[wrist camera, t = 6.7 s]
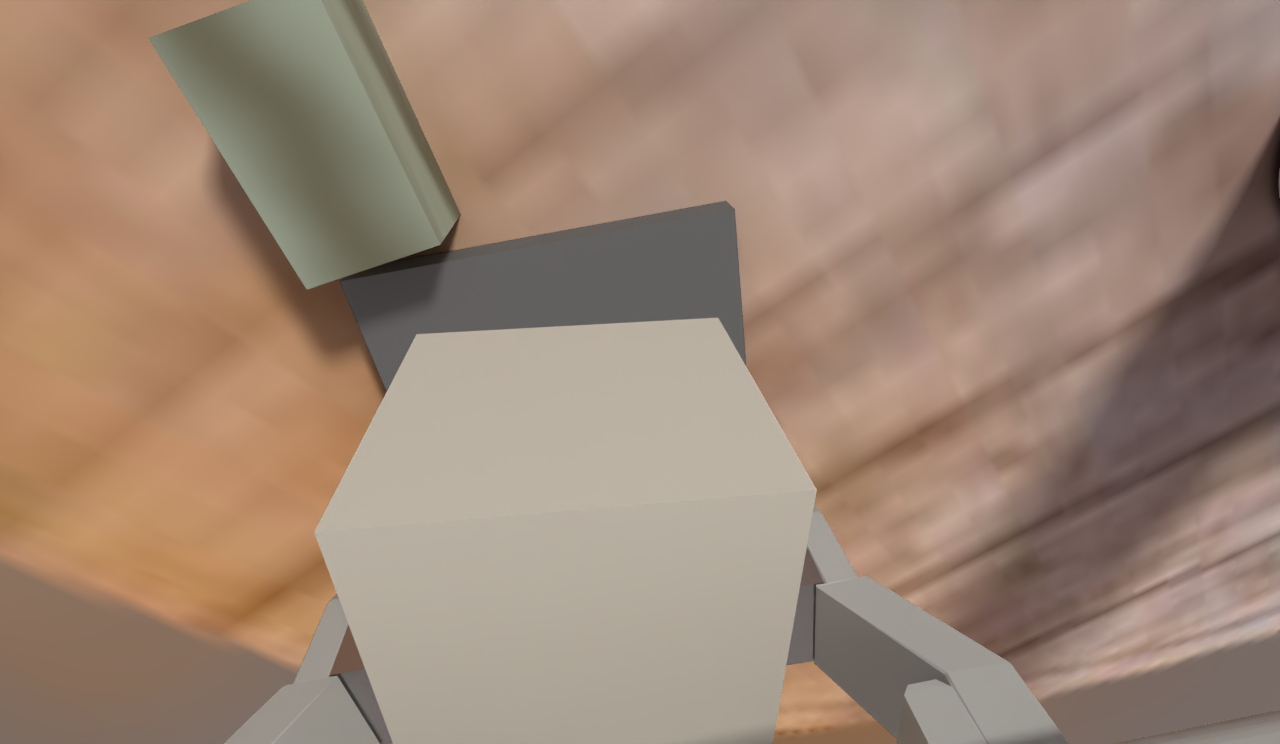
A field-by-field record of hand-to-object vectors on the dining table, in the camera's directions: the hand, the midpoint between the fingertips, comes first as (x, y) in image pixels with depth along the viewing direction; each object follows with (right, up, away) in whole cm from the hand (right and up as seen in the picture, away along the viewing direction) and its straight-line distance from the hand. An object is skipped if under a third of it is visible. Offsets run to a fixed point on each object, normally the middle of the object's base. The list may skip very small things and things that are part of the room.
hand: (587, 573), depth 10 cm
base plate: (-2, +4, +17) cm, 18 cm away
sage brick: (-10, +13, +12) cm, 20 cm away
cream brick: (0, +1, +1) cm, 2 cm away
